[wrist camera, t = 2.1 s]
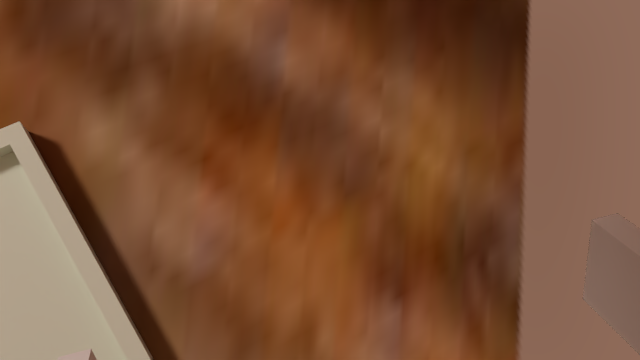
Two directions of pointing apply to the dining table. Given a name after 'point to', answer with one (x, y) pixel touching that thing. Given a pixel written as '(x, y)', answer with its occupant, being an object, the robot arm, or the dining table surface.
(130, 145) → the dining table surface
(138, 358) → the tray
